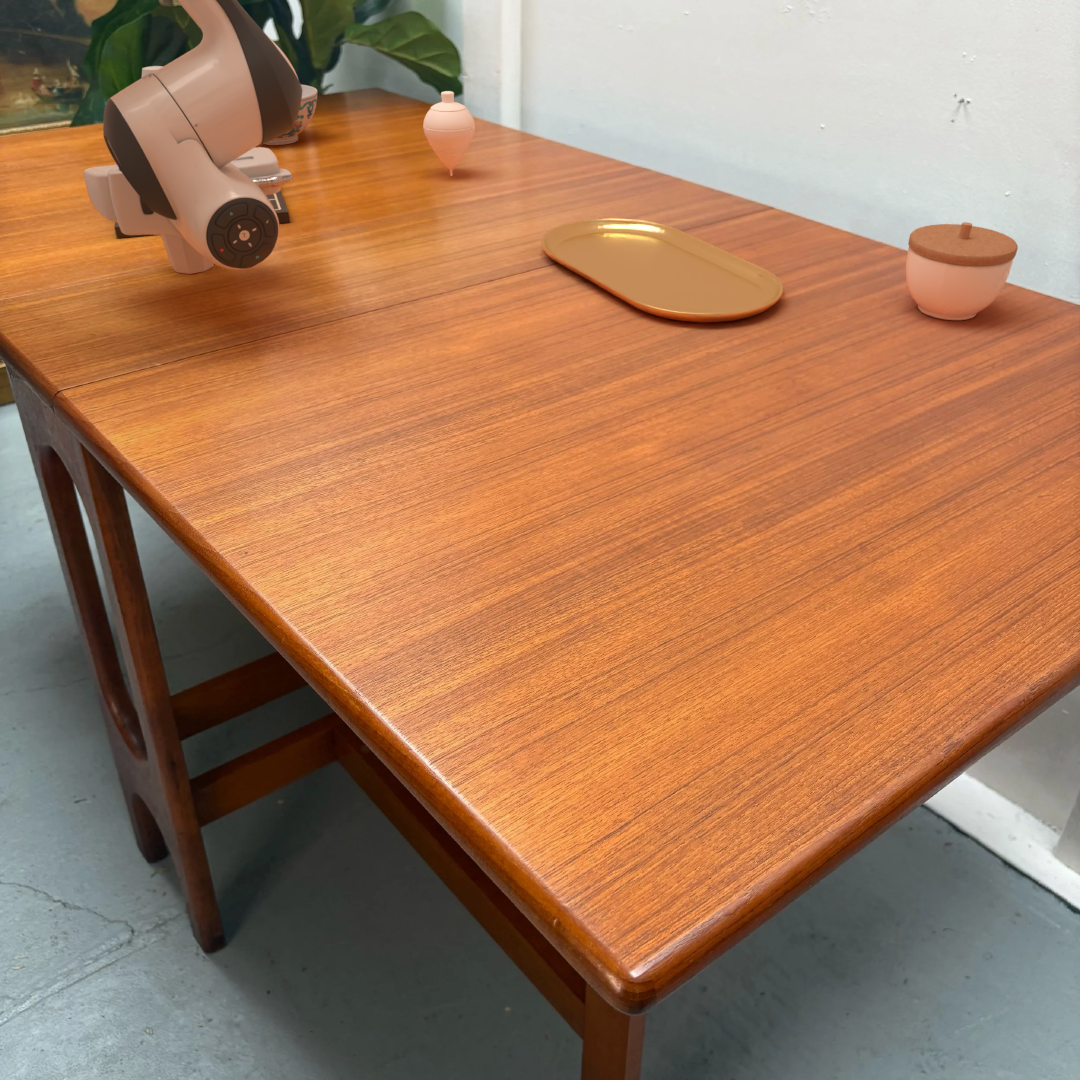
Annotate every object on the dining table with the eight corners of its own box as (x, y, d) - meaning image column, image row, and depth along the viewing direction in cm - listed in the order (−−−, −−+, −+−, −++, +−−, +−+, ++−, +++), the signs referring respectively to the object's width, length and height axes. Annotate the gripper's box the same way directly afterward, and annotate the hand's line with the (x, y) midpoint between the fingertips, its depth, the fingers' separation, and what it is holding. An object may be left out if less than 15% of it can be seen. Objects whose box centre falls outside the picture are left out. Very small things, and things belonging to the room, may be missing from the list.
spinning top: (484, 179, 154) (482, 94, 147) (438, 185, 151) (433, 99, 144) (463, 167, 160) (460, 84, 153) (418, 173, 157) (412, 89, 150)
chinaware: (236, 132, 179) (228, 85, 175) (322, 128, 181) (317, 82, 177) (230, 153, 167) (221, 103, 163) (322, 149, 169) (317, 99, 165)
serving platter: (636, 222, 137) (637, 210, 136) (817, 307, 112) (819, 293, 111) (514, 244, 129) (513, 232, 128) (678, 341, 104) (679, 326, 103)
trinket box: (1010, 304, 112) (1033, 219, 107) (984, 337, 105) (1008, 247, 99) (912, 285, 117) (930, 202, 112) (882, 314, 110) (899, 228, 104)
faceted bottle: (199, 254, 126) (162, 60, 114) (231, 265, 123) (196, 67, 110) (154, 268, 122) (110, 68, 109) (186, 280, 119) (145, 75, 106)
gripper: (293, 149, 109) (256, 123, 118) (92, 174, 100) (70, 144, 110) (301, 209, 112) (264, 179, 122) (107, 238, 104) (84, 203, 114)
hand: (170, 163), depth 116 cm, fingers open, 8 cm apart
